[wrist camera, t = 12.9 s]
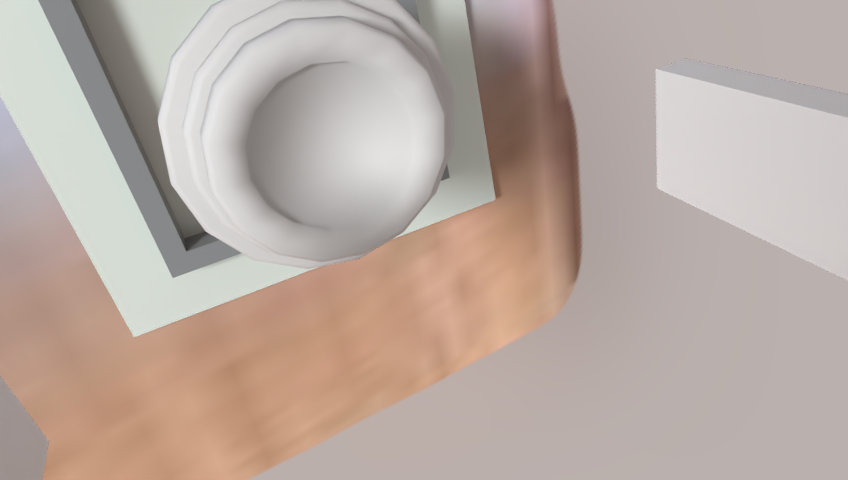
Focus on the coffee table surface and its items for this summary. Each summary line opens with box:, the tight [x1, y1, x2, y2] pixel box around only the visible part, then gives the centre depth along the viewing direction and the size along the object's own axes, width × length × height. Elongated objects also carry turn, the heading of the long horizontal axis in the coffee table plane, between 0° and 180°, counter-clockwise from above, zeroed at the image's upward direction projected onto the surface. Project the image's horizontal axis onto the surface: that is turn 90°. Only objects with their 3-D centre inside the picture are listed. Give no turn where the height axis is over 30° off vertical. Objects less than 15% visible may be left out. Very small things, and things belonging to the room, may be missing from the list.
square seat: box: [0, 0, 496, 337], centre depth 27 cm, size 20×20×2 cm
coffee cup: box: [158, 0, 454, 269], centre depth 22 cm, size 9×9×12 cm
